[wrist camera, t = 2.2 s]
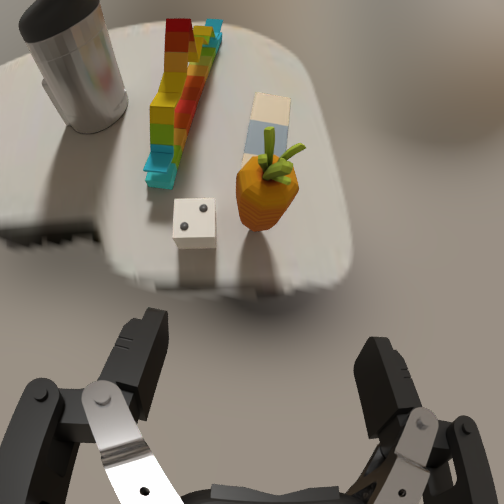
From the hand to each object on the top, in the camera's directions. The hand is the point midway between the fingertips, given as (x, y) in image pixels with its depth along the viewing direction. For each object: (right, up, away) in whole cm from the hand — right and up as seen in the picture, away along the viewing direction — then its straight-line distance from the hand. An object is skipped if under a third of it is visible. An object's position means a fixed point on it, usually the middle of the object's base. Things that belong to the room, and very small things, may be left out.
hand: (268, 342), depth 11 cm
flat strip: (+1, +17, +24) cm, 30 cm away
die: (-6, +6, +21) cm, 22 cm away
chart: (-9, +25, +26) cm, 37 cm away
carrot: (0, +6, +22) cm, 22 cm away
